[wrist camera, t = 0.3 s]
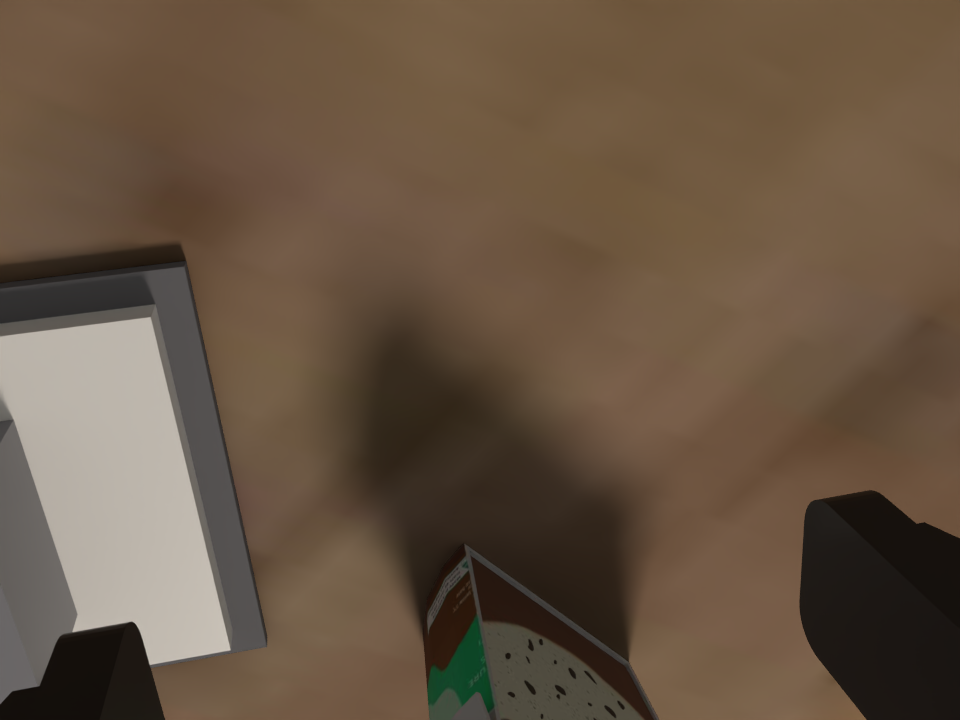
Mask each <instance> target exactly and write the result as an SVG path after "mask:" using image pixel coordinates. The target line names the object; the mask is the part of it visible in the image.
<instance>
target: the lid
mask: <svg viewBox="0 0 960 720" xmlns="http://www.w3.org/2000/svg"><path fill="white" fill-rule="evenodd" d="M126 622H134V623H135V624H136V625H137V627H138V629H139V631H140V633H141V636H142V639H143V643H144V646H145V650H146V654H147V657H148V661H149V664H150V665H152V664H158V663H163V662H169V661H175V660H180V659H186V658H191V657H197V656H202V655H208V654H213V653H219V652H224V651H230V650H231V641H232V626H231V622H230V618H229V613H228V609H227V605H226V601H225V596H224V592H223V588H222V584H221V580H220V575H219V571H218V567H217V563H216V558H215V554H214V550H213V546H212V541H211V537H210V533H209V529H208V525H207V520H206V516H205V512H204V508H203V503H202V499H201V495H200V491H199V486H198V482H197V478H196V474H195V469H194V465H193V461H192V457H191V453H190V448H189V444H188V440H187V436H186V431H185V427H184V423H183V419H182V414H181V410H180V406H179V402H178V398H177V393H176V389H175V385H174V381H173V376H172V372H171V368H170V364H169V359H168V355H167V351H166V347H165V342H164V338H163V334H162V330H161V326H160V321H159V317H158V313H157V309H156V304H152V305H145V306H137V307H129V308H121V309H113V310H105V311H97V312H89V313H81V314H73V315H65V316H57V317H50V318H42V319H34V320H26V321H18V322H10V323H2V324H0V704H1V703H2V702H3V701H4V700H5V698H6V697H7V696H8V695H9V694H10V693H11V692H12V691H16V690H21V689H27V688H32V687H37V686H40V683H41V681H42V678H43V675H44V673H45V670H46V668H47V665H48V662H49V660H50V657H51V654H52V652H53V649H54V647H55V644H56V642H57V640H58V638H59V637H60V636H61V635H62V634H65V633H71V632H77V631H82V630H88V629H93V628H99V627H104V626H110V625H115V624H121V623H126Z"/></svg>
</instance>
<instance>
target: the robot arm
mask: <svg viewBox="0 0 960 720" xmlns="http://www.w3.org/2000/svg"><path fill="white" fill-rule="evenodd" d="M800 615H801V621H802V625H803V629H804V632H805V635H806V637H807V640H808V642H809V644H810V646H811V648H812V650H813V652H814V653H815V655H816V656H817V657H818V659H819V660H820V661H821V663H822V664H823V665H824V666H825V668H826V669H827V670H828V671H829V673H830V674H831V675H832V676H833V678H834V679H835V680H836V681H837V683H838V684H839V685H840V686H841V688H842V689H843V690H844V692H845V693H846V694H847V695H848V697H849V698H850V699H851V700H852V702H853V703H854V704H855V705H856V707H857V708H858V709H859V710H860V712H861V713H862V714H863V715H864V717H865V718H866V719H867V720H960V538H957V537H955V536H953V535H951V534H949V533H947V532H944V531H942V530H940V529H938V528H936V527H933V526H931V525H929V524H927V523H925V522H924V523H919V524H916V523H915V522H914V521H913V520H911V519H910V518H909V517H908V516H907V515H905V514H904V513H903V512H902V511H901V510H899V509H898V508H897V507H896V506H895V505H894V504H892V503H891V502H890V501H889V500H888V499H886V498H885V497H884V496H883V495H881V494H880V493H878V492H876V491H872V490H869V491H863V492H858V493H852V494H847V495H841V496H836V497H830V498H825V499H819V500H814V501H812V502H811V503H810V504H809V505H808V507H807V509H806V513H805V520H804V537H803V553H802V570H801V587H800ZM0 720H165V718H164V714H163V711H162V707H161V704H160V700H159V696H158V693H157V689H156V686H155V682H154V679H153V675H152V671H151V668H150V664H149V661H148V657H147V654H146V650H145V646H144V643H143V639H142V636H141V633H140V631H139V629H138V627H137V625H136V624H135V623H134V622H126V623H121V624H115V625H110V626H104V627H99V628H93V629H88V630H82V631H77V632H71V633H65V634H62V635H61V636H60V637H59V638H58V640H57V642H56V644H55V647H54V649H53V652H52V654H51V657H50V660H49V662H48V665H47V668H46V670H45V673H44V675H43V678H42V681H41V683H40V686H37V687H32V688H27V689H21V690H16V691H12V692H11V693H10V694H9V695H8V696H7V697H6V698H5V700H4V701H3V702H2V703H1V704H0Z"/></svg>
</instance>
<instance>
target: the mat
mask: <svg viewBox="0 0 960 720" xmlns="http://www.w3.org/2000/svg"><path fill="white" fill-rule="evenodd" d="M152 304H156V309H157V313H158V317H159V321H160V326H161V330H162V334H163V338H164V342H165V347H166V351H167V355H168V359H169V364H170V368H171V372H172V376H173V381H174V385H175V389H176V393H177V398H178V402H179V406H180V410H181V414H182V419H183V423H184V427H185V431H186V436H187V440H188V444H189V448H190V453H191V457H192V461H193V465H194V469H195V474H196V478H197V482H198V486H199V491H200V495H201V499H202V503H203V508H204V512H205V516H206V520H207V525H208V529H209V533H210V537H211V541H212V546H213V550H214V554H215V558H216V563H217V567H218V571H219V575H220V580H221V584H222V588H223V592H224V596H225V601H226V605H227V609H228V613H229V618H230V622H231V626H232V641H231V650H230V651H224V652H219V653H213V654H208V655H202V656H197V657H191V658H186V659H180V660H175V661H169V662H163V663H158V664H152V665H150V668H153V667H159V666H164V665H170V664H175V663H181V662H186V661H192V660H197V659H203V658H208V657H214V656H219V655H225V654H230V653H236V652H241V651H247V650H252V649H258V648H263V647H267V634H266V629H265V624H264V620H263V615H262V610H261V606H260V601H259V597H258V592H257V587H256V583H255V578H254V573H253V569H252V564H251V559H250V555H249V550H248V546H247V541H246V536H245V532H244V527H243V522H242V518H241V513H240V508H239V504H238V499H237V495H236V490H235V485H234V481H233V476H232V471H231V467H230V462H229V458H228V453H227V448H226V444H225V439H224V434H223V430H222V425H221V420H220V416H219V411H218V407H217V402H216V397H215V393H214V388H213V383H212V379H211V374H210V369H209V365H208V360H207V356H206V351H205V346H204V342H203V337H202V332H201V328H200V323H199V318H198V314H197V309H196V305H195V300H194V295H193V291H192V286H191V281H190V277H189V272H188V267H187V263H186V261H181V262H173V263H165V264H156V265H148V266H140V267H132V268H123V269H115V270H107V271H98V272H90V273H82V274H73V275H65V276H57V277H48V278H40V279H32V280H23V281H15V282H7V283H0V324H2V323H10V322H18V321H26V320H34V319H42V318H50V317H57V316H65V315H73V314H81V313H89V312H97V311H105V310H113V309H121V308H129V307H137V306H145V305H152Z"/></svg>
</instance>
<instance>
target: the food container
mask: <svg viewBox="0 0 960 720" xmlns="http://www.w3.org/2000/svg"><path fill="white" fill-rule="evenodd" d="M423 639H424V652H425V665H426V678H427V692H428V705H429V718H430V720H659V718H658V716H657V714H656V713H655V711H654V709H653V707H652V705H651V703H650V701H649V699H648V697H647V696H646V694H645V692H644V690H643V688H642V686H641V684H640V682H639V680H638V678H637V677H636V675H635V673H634V671H633V669H632V667H631V665H630V663H629V662H628V661H627V660H625V659H624V658H622V657H621V656H620V655H618V654H617V653H616V652H614V651H613V650H611V649H610V648H609V647H607V646H606V645H604V644H603V643H602V642H600V641H599V640H598V639H596V638H595V637H593V636H592V635H591V634H589V633H588V632H586V631H585V630H584V629H582V628H581V627H580V626H578V625H577V624H575V623H574V622H573V621H571V620H570V619H568V618H567V617H566V616H564V615H563V614H561V613H560V612H559V611H557V610H556V609H555V608H553V607H552V606H550V605H549V604H548V603H546V602H545V601H543V600H542V599H541V598H539V597H538V596H537V595H535V594H534V593H532V592H531V591H530V590H528V589H527V588H525V587H524V586H523V585H521V584H520V583H519V582H517V581H516V580H514V579H513V578H512V577H510V576H509V575H507V574H506V573H505V572H503V571H502V570H501V569H499V568H498V567H496V566H495V565H494V564H492V563H491V562H489V561H488V560H487V559H485V558H484V557H482V556H481V555H480V554H478V553H477V552H476V551H474V550H473V549H471V548H470V547H469V546H467V545H466V544H463V545H462V546H461V547H460V548H459V549H458V550H457V552H456V553H455V554H454V555H453V556H452V557H451V558H450V559H449V560H448V562H447V563H446V564H445V565H444V566H443V568H442V570H441V572H440V574H439V576H438V578H437V580H436V582H435V584H434V586H433V588H432V590H431V592H430V594H429V596H428V598H427V602H426V611H425V620H424V628H423Z"/></svg>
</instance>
